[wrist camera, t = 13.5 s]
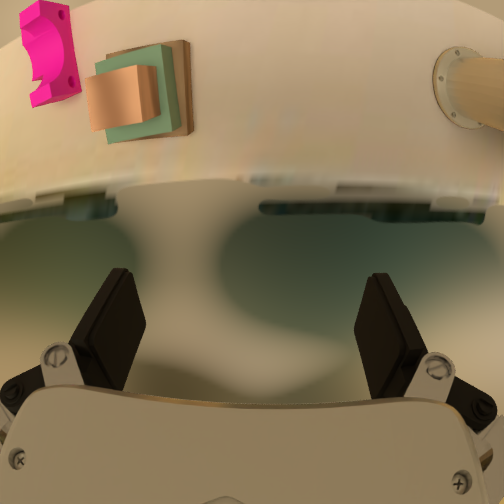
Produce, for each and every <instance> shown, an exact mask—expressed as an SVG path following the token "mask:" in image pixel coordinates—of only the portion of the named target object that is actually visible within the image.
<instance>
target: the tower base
mask: <svg viewBox="0 0 504 504" xmlns="http://www.w3.org/2000/svg"><path fill="white" fill-rule="evenodd" d="M158 44H162V45H166V46H169V47H171V48H172V57H173V65H174V74H175V82H176V89H177V97H178V104H179V111H180V118H181V125H182V126H181V127H179V128H177V129H176V130H174V131H172V132H166V133H160V134H155V135H150V136H144V137H139V138H134V139H130V140H125V141H120V142H126V141H134V140H143V139H152V138H162V137H174V136H187V135H189V134H190V133H192V132H193V131H194V126H193V109H192V90H191V65H190V43H189V42H187V41H185V40H177V41H170V42H164V43H158ZM158 44H152V45H147V46H142V47H137V48H132V49H127V50H123V51H119V52H114V53H110V54H107V55H106V59H109V58H112V57H115V56H119V55H122V54H125V53H128V52H132V51H135V50H139V49H143V48H146V47H150V46H154V45H158ZM116 143H119V142H116Z"/></svg>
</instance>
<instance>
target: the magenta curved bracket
mask: <svg viewBox="0 0 504 504" xmlns="http://www.w3.org/2000/svg"><path fill="white" fill-rule="evenodd" d="M69 11H70V9H69V6H67V5H63V4H59V3H54V2H49V1H44V0H38V1H36V2H35V3H34V4H32V5H31V6H29V7H28V8H26V9H25V10H24V11H22V12H21V13H20V14H19V16H20V29H21V33H22V44H23V46H24V47H25V49H26V50H27V52H28V54H29V56H30V59H31V62H32V68H33V78H32V81H37V80H42V82H41V84H40V85H39V87H38V88H37V89H36V90H35V91H34V92H32V93H30V94H29V95H30V100H31V105H32V108H34V107H37V106H41V105H45V104H49V103H53V102H57V101H62V100H64V99H66V98H69V97H71V96H73V95H75V94H77V93H80V92H82V90H81V85H80V80H79V75H78V69H77V64H76V58H75V52H74V45H73V38H72V31H71V23H70V14H69Z"/></svg>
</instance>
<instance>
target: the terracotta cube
mask: <svg viewBox="0 0 504 504" xmlns="http://www.w3.org/2000/svg"><path fill="white" fill-rule="evenodd" d="M85 84H86V93H87V102H88V109H89V116H90V123H91V130H92V132H95V131H99V130H104V129H109V128H113V127H119V126H124V125H129V124H135V123H141V122H144V121H147V120H149V119H152V118H154V117H157V116H159V115H161V112H160V102H159V92H158V81H157V69H156V66H146V65H134V66H129V67H125V68H121V69H117V70H113V71H110V72H106V73H102V74H99V75H95V76H92V77H89V78H85Z"/></svg>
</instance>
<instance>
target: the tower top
mask: <svg viewBox="0 0 504 504" xmlns="http://www.w3.org/2000/svg"><path fill="white" fill-rule="evenodd" d="M134 65H146V66H156V69H157V81H158V92H159V102H160V112H161V115H159V116H157V117H154V118H152V119H149V120H147V121H144V122H141V123H135V124H129V125H124V126H119V127H113V128H109V129H105V131H106V136H107V141H108V144H112V143H116V142H120V141H125V140H130V139H134V138H139V137H144V136H150V135H155V134H160V133H166V132H172V131H174V130H176V129H177V128H179V127H181V126H182V125H181V118H180V111H179V104H178V97H177V89H176V82H175V74H174V65H173V57H172V48H171V47H169V46H166V45H162V44H158V45H154V46H150V47H146V48H143V49H139V50H135V51H132V52H128V53H125V54H122V55H119V56H115V57H112V58H109V59H106V60H103V61H100V62H98V63H95V68H96V75H99V74H102V73H106V72H110V71H113V70H117V69H121V68H125V67H129V66H134Z"/></svg>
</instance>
